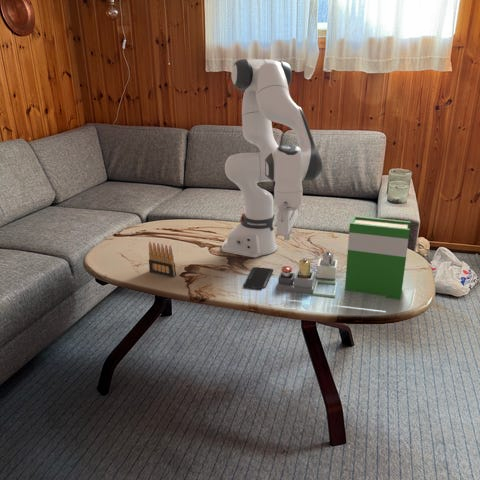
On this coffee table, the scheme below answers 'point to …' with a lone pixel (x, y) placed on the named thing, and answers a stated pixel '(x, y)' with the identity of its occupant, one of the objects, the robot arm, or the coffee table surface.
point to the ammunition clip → (161, 260)
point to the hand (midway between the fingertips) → (287, 238)
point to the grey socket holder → (297, 283)
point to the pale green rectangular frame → (324, 293)
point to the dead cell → (327, 259)
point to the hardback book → (377, 256)
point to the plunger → (286, 272)
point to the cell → (304, 268)
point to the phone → (258, 278)
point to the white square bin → (327, 270)
